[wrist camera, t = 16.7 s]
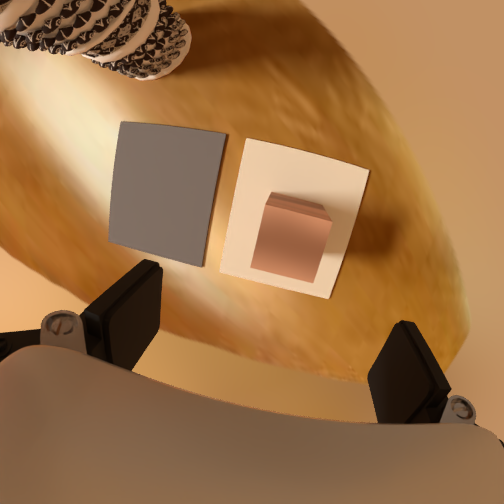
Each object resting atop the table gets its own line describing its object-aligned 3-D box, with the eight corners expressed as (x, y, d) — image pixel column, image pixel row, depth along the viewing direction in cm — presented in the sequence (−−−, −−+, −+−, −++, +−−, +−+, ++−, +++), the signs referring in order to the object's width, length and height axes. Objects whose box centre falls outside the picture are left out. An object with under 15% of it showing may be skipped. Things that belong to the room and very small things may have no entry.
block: (271, 191, 27) (265, 204, 20) (322, 205, 26) (332, 222, 20) (259, 240, 28) (250, 267, 22) (308, 253, 28) (313, 283, 22)
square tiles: (121, 121, 26) (120, 121, 26) (368, 170, 25) (369, 170, 25) (109, 241, 31) (108, 241, 31) (328, 298, 30) (328, 298, 30)
